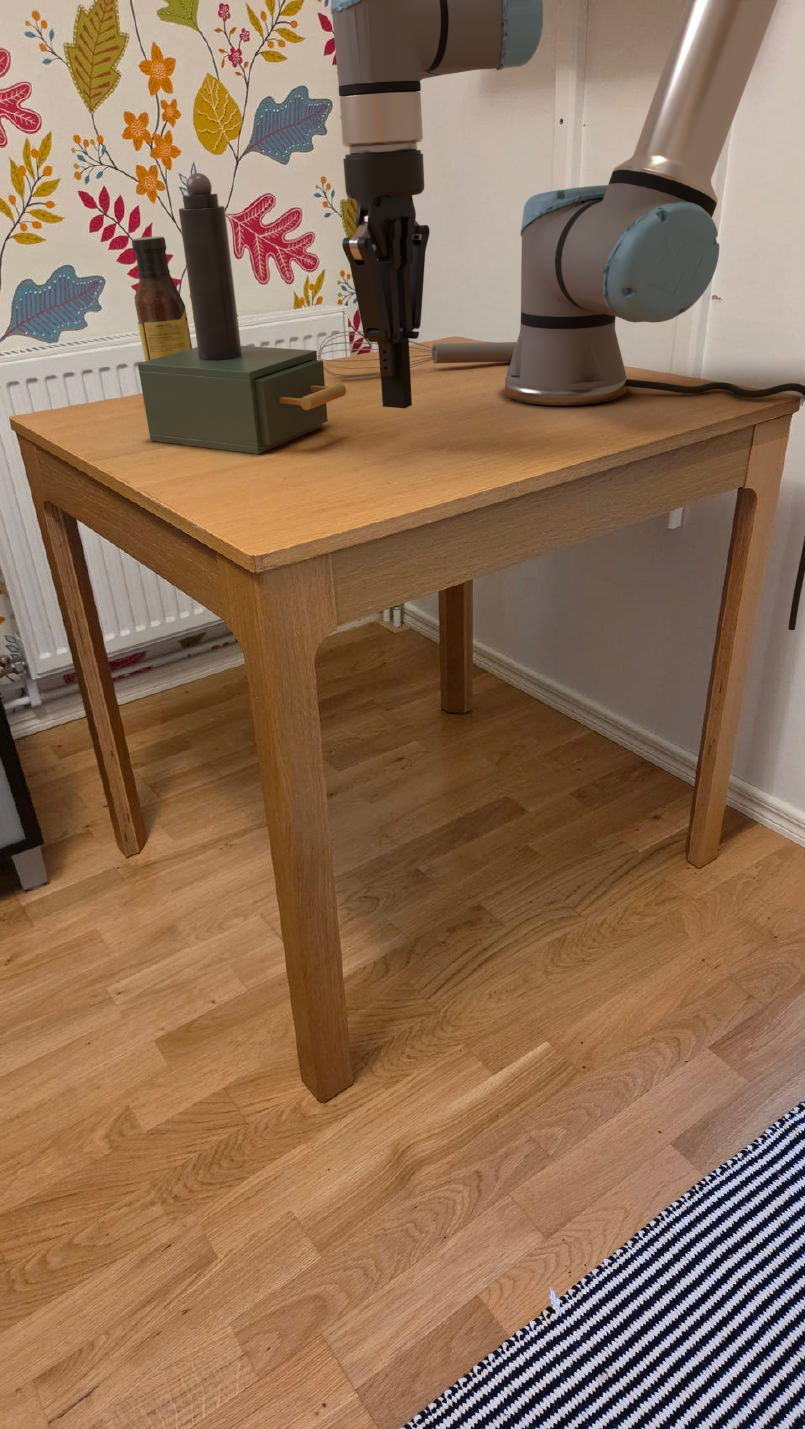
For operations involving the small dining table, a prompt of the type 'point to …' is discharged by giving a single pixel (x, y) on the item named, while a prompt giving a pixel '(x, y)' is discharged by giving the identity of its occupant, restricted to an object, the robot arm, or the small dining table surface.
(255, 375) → the cabinet
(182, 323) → the sauce bottle
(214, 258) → the pepper mill
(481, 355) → the kitchen whisk
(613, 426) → the small dining table surface
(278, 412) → the drawer
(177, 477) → the small dining table surface
